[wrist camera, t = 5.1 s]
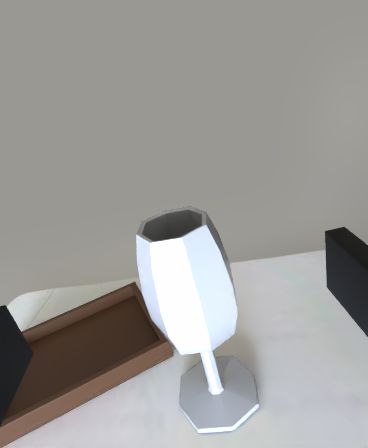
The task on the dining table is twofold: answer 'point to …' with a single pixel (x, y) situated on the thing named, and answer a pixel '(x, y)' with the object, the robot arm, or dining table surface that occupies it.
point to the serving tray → (83, 358)
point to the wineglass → (196, 314)
